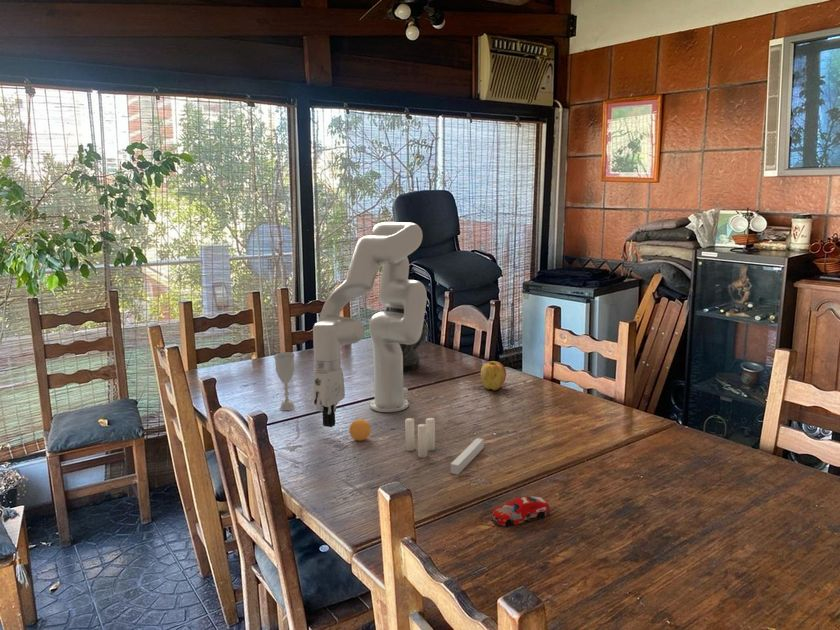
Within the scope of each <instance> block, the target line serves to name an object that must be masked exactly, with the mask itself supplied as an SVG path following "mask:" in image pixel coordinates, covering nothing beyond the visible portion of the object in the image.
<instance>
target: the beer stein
mask: <svg viewBox="0 0 840 630" xmlns="http://www.w3.org/2000/svg"><path fill="white" fill-rule="evenodd" d="M388 312H396V313H403V314H404V309H398V308H392V309H391V308H390V310H389V311H388ZM428 332H429V331H428V324H427V322H426V320H425V319H424V322H423V328H422V333H421V336H420V338H419V340H418V341H417V342H416V343H415V344H411V345H408V344H400V343H399V345H400V347H401V350H402V354H403V371H405V372H409V371H408V370H411V371H413V369H414V370H416V369H418V367H419V364H420V356H419V353H418V348H419V346H421V345H422V344H423V342H424V341H425V340H426V338H427V335H428ZM415 368H416V369H415Z"/></svg>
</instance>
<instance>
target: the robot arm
mask: <svg viewBox="0 0 840 630" xmlns="http://www.w3.org/2000/svg"><path fill="white" fill-rule="evenodd" d="M422 241H423V230H422V228H421V227H420V226H419V225H418V224H417V223H414V222H404V221H403V222H402V221H400V222H399V221H398V222H397V221H383V222H378V223H376V224H374V226H373V228H372V231H371V235H364V236H362V237H360V238H359V239H358V240H357V242H356V244H355V247H354V251H353V254H352V257H351V259H350V263H349V267H348V270H347V273H346V277H345V278H344V281H343V282H342V283H340V285H339V286H338V287H336V288H335V290H333V291H332V293H330V295H329V296H328V297H327V299H326V300H325V302H324V304H323V306H322V309H321V312H320V315H319V319H318V321H317V322H315V323H314V325H313V326H312V335H313V337H312V338H313V339H312V340H313V342H312V343H313V369H314V371H313V381H312V402H313V405H315V411H317V412H320V413H321V414H322V426H323V427H327V428H333V427H335V426H336V412H337V405H338V404H339V403H340V402H341V401H342V400H344V399H345V396H346V395H345V394H346V393H345V392H346V391H345V389H346V388H345V378H344V373H343V368H342V365H341V364H342V363H341V362H342V361H341V346H342V345H353V344H357V343H358V342H360V341H361V340H362V339H363V338H364V335H365V331H366V329H365V326H364V324H363V323H362V321H360V320H359V319H356V318H353V317H346V316H340V315H341V312H342V311H343V310H344V309H343V308H344V307H345V306H346V305H347V304H348V303H349V302H351V301H352V300H354V299H356V298H359V297H361V296H363V295H366V294H367V293H369V292H370V291H372V289H373V287H374V284H375V280H376V277H377V274H378V270H379V267H380V265H382V272H381V277H380V282H379V290H378V300H379V302H380V304H381V305H382V306H383V307H386V308H390V309H391V308H392V309H393V308H398V309H404V314H403V313H396V312H389V311H386V310H385V311H383V310H382V311H379V312H376V313H374V314H373V315H371V318H370V320H369V325H368V328H369V334H370V339H371V342H372V352H373V353H372V354H373V384H374V385H373V387H374V399H373V400H371V401H370V403H369V406H370V409H371V410H373V411H376V412H380V413H397V412H400V411H404V410H405V409H407V408H409V407H408V406H409V401H408V400H407V399H406V398H404V396H405V394H406V393H408V391H409V389H408V388H407V387H404V372H403V354H402V350H401V347H400V345H399V343H400V344H408V345H411V344H415V343H416V342H417V341H418V340H419V338H420V336H421V333H422V328H423V322H424V320H425V314H426V307H427V299H428V298H427V297H428V296H427V295H428V294H427V289H426V286H425V285H424V284H423V283H422V282H421V281H419V280H415V279H409V274H410V273H409V272H410V262H409V258H408V256H409V255H411V254H413V253H414V252H415V251H417V249H418V248H419V247H420V246H421V244H422Z"/></svg>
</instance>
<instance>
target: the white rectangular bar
mask: <svg viewBox="0 0 840 630" xmlns="http://www.w3.org/2000/svg"><path fill="white" fill-rule="evenodd" d="M484 443H485V442H484V438H479V437H476V439H474V440H473V441H472V442H471V443H470V444H469V445H468V446H467V447H466V448H465V449H464V450H463V451H462V452H461V453H460V454H459V455H458V456H457V457H456V458H455V459H454V460H453V461H452V462H450V474H452V475H453V474H454V475H460V473H461V472H462V471H464V469H465V468H466V467H467V466H468V465H469V464H470V463H471V462H472V460H473V459H475V457H477V455H479V453H481V451H482V450H483V449H484V448H485V447H484V446H485V445H484Z"/></svg>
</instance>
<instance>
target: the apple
mask: <svg viewBox="0 0 840 630" xmlns="http://www.w3.org/2000/svg"><path fill="white" fill-rule="evenodd" d="M506 377H507V371H506V368H505V365H504V364H502V363H501V362H499V361H495V360H493V361H492V360H491V361H487V362H486V363H484V364H483V365H482V366H481V369H480V380H481V382H482V385H483V387H485V389H487V390H490V389H492V390H491V391H497V390H499V389H500V388H501V387H502V386H503V385H504V383H505V381H506Z"/></svg>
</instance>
